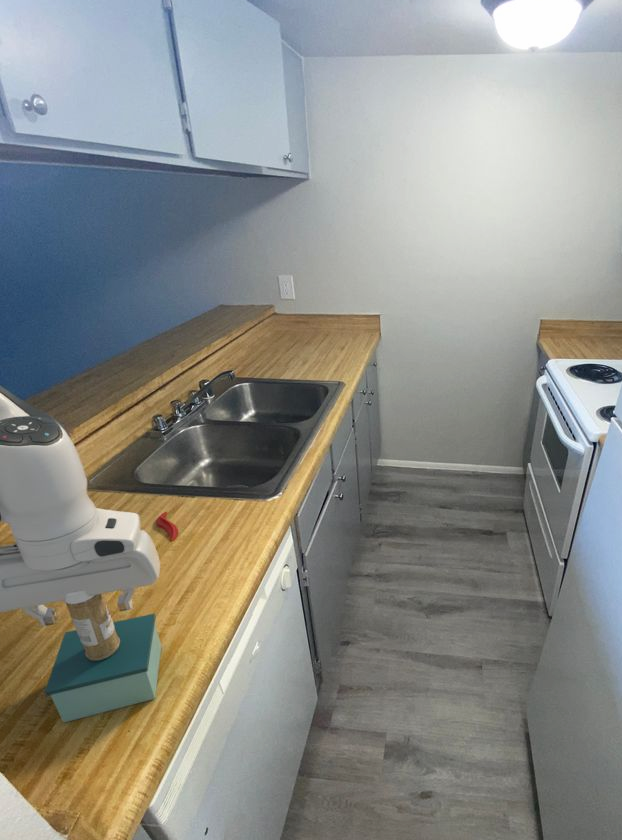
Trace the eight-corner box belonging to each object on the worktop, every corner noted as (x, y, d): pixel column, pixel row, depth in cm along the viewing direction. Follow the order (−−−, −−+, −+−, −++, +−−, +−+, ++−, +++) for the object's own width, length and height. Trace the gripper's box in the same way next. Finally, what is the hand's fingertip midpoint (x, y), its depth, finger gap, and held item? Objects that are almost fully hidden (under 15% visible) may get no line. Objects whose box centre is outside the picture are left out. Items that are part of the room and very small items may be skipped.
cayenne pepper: (156, 514, 113) (155, 508, 112) (177, 510, 114) (176, 504, 113) (155, 545, 103) (153, 538, 102) (178, 540, 105) (176, 533, 104)
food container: (60, 725, 68) (44, 692, 64) (78, 664, 77) (65, 632, 73) (157, 700, 72) (146, 667, 68) (163, 644, 81) (154, 613, 77)
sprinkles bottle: (126, 646, 71) (103, 579, 65) (94, 667, 68) (67, 599, 62) (111, 631, 74) (88, 565, 67) (79, 651, 70) (52, 583, 64)
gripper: (-50, 569, 55) (-9, 650, 61) (145, 539, 62) (164, 615, 68) (-27, 536, 60) (9, 614, 67) (151, 511, 67) (168, 585, 73)
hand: (89, 614), depth 67 cm, fingers open, 8 cm apart
